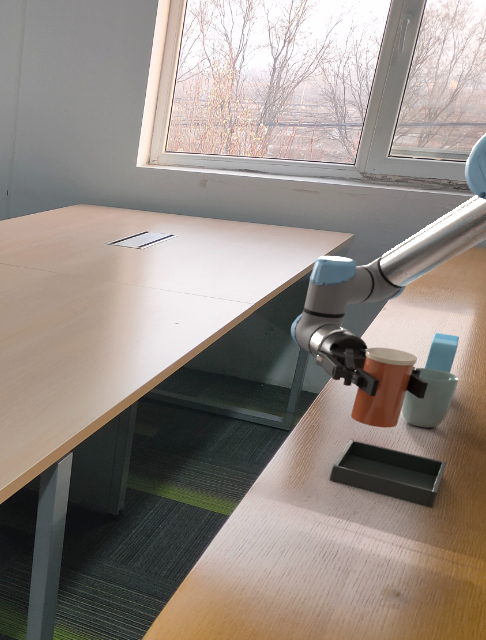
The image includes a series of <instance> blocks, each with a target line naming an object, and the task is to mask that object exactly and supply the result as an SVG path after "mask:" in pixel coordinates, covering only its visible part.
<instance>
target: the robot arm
mask: <svg viewBox="0 0 486 640" xmlns="http://www.w3.org/2000/svg"><path fill="white" fill-rule="evenodd" d="M464 176H465V177H464V178H465V181H466V184H467V187H468V189H469V190H470V191H471V193H472V194H473V195H475V196H473V197H471V198H470V199H469V200H467V201H465V202H463V203H462V204H461V205H459V206H457V207H456V208H454V209H453V210H451V211H450V212H448V213H446V214H445V215H443V216H442V217H440V218H438V219H437V220H436V221H434V222H432V223H431V224H429V225H427V226H426V227H424V228H423V229H421V230H420V231H419V232H417V233H415V234H414V235H412V236H411V237H409V238H408V239H405V241H403V242H401V243H400V244H398V245H396V246H394V248H391V250H389V251H387V252H385V253H384V254H382V256H380V257H378V258H377V259H375V260H373V261H371V262H370V263H368V264H366V265H365V264H364V265H357V262H356V261H355V260H354V259H352V258H348V257H343V256H335V255H333V256H330V255H323V256H320V257H318V258H316V260H315V261H314V264H313V267H312V271H311V274H310V276H309V284H308V286H307V287H308V288H307V292H306V297H305V302H304V308H303V310H302V313H301V314H299V315H298V316H297V317H296V319H295V320H294V321H293V322H292V324H291V327H290V335H291V338H292V339H293V341H294V343H296V344H297V346H298V347H299V348H300V349H302V350H303V351H305V352H307V353H309V354H310V355H311V356H313V357H314V358H315V359H316V360H315V365H317V366H320V367H321V368H322V369H323V370H324V372H326V373H327V374H328V375H329V377H330V378H331V379H333V380H334V381H340V380H341V379H343V386H347V387H351V386H352V384H353V385H355V386H356V387H357V388H358V387H359V388H360V389H362V390H363V391H365V392H366V393H367V394H369V395H370V396H375V394H376V391H377V387H378V383H379V380H377V379H376V378H374V377H373V376H371V375H370V374H369V373H367V372H366V371H364V370H363V367H364V363H365V359H366V355H365V354H366V350H367V349H369V348H368V346H367V343H366V342H365V341H364V340H363V338H361V337H360V336H358V335H356V334H354V333H353V332H351V331H350V330H349V329H347V328H344V327H343V322H344V317H345V315H346V310H347V306H348V305H354V304H355V305H357V304H367V303H383V302H387V301H390V300H391V301H392V300H394V299H397V298H398V297H400V296H401V295H402V293H403V292H404V290H405V289H406V286H409V284H411V283H413V282H415V281H416V280H418V279H420V278H421V277H423V276H425V275H427V274H428V273H430V272H432V271H434V270H436V269H437V268H439V267H441V266H442V265H444V264H446V263H447V262H449V261H451V260H453V259H454V258H456V257H457V256H460V255H461V254H463V253H465V252H466V251H468V250H470V249H472V248H474V247H475V246H477V245H479V244H480V243H482V242H483V241H485V240H486V133H485V134H484V135H482V136H481V138H479V140H477V142H476V143H475V145H473V147H472V149H471V152H470V154H469V157H467V160H466V162H465V170H464ZM417 368H418V367H415V366H413V370H412V373H411V377H410V380H409V384H408V387H407V391H408V392H410V393H412V394H413V395H415V396H416V397H418V398H422V399H423V398H424V395H425V392H426V388H427V385H428V383H427V382H425V381H424V380H422V379H420V378H419V376H420V373H421V370H419V369H417Z"/></svg>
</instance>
